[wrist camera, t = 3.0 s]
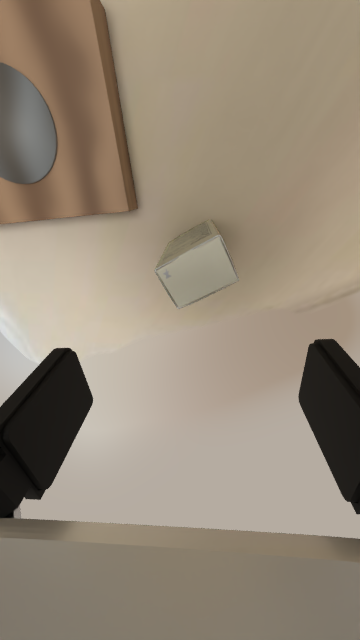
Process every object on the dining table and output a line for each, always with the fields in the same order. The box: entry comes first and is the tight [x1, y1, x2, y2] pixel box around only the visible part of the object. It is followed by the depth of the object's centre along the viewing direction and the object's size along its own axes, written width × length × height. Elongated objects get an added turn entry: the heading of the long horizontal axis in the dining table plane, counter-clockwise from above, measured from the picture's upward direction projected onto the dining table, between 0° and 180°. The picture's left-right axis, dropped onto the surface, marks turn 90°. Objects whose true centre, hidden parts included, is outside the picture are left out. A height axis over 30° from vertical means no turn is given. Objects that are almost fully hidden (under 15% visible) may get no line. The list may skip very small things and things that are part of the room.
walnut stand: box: [0, 0, 138, 224], centre depth 24 cm, size 20×16×4 cm
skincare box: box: [154, 219, 239, 309], centre depth 25 cm, size 6×4×12 cm
